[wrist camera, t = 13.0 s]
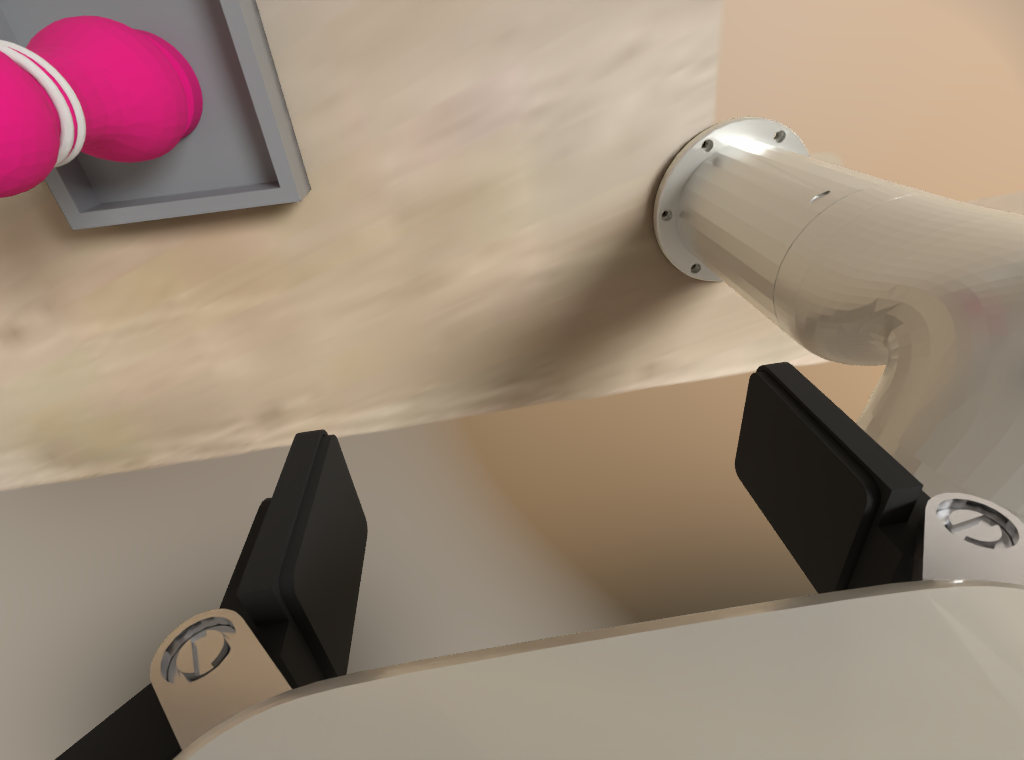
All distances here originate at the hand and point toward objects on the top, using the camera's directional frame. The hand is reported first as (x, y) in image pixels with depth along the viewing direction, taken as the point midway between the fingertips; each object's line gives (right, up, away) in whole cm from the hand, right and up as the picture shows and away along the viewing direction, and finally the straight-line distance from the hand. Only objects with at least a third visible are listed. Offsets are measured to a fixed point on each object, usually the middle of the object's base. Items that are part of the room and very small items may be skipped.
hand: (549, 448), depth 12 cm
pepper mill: (-24, +20, +22) cm, 38 cm away
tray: (-24, +21, +22) cm, 38 cm away
